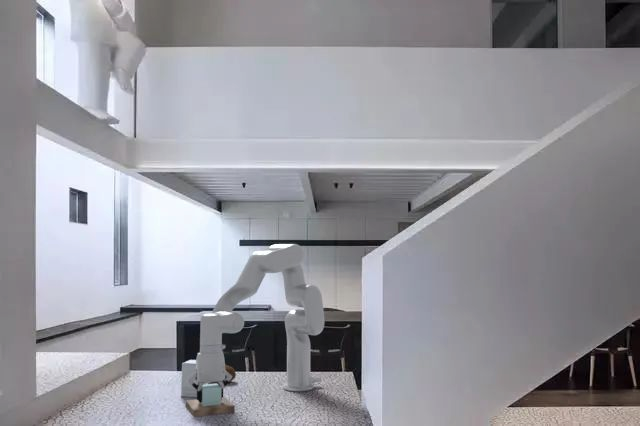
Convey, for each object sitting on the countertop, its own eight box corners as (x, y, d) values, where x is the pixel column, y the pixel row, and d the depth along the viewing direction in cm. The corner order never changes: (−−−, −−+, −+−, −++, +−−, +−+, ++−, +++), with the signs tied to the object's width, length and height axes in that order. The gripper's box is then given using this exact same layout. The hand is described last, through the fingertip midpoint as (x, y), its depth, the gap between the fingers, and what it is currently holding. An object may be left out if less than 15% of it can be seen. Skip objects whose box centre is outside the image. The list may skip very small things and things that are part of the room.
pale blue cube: (216, 399, 198) (216, 383, 198) (221, 404, 192) (221, 387, 192) (198, 401, 195) (199, 385, 196) (202, 406, 189) (203, 389, 190)
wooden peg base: (224, 401, 203) (224, 383, 203) (234, 411, 190) (234, 392, 190) (185, 406, 197) (186, 387, 197) (193, 416, 184) (194, 396, 185)
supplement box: (198, 397, 209) (199, 363, 209) (180, 396, 210) (181, 362, 211) (206, 392, 216) (207, 360, 217) (188, 391, 217) (189, 359, 218)
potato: (234, 384, 230) (234, 365, 230) (204, 384, 229) (205, 365, 230) (237, 380, 238) (237, 361, 238) (208, 380, 238) (208, 361, 238)
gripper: (231, 345, 202) (231, 395, 201) (184, 349, 195) (183, 400, 193) (237, 349, 195) (236, 400, 194) (188, 352, 188) (187, 406, 187)
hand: (209, 400), depth 194 cm, fingers closed on pale blue cube, 6 cm apart
